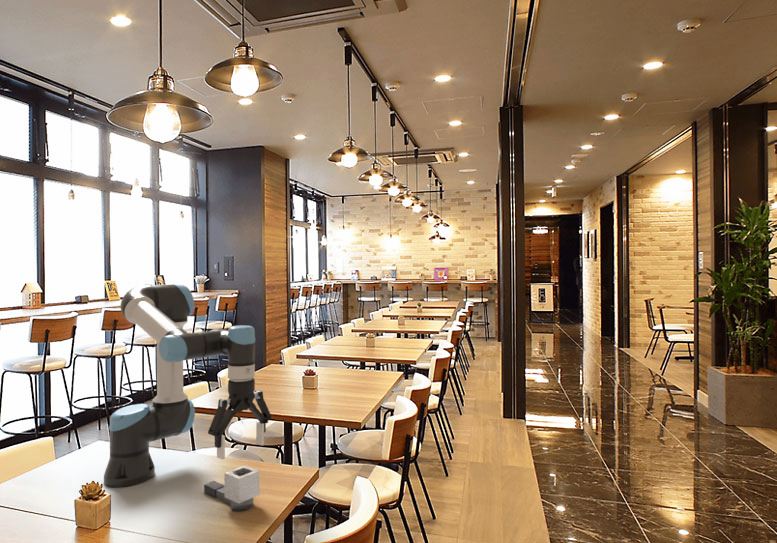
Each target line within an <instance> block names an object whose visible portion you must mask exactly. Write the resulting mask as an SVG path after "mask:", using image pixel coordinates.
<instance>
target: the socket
mask: <svg viewBox="0 0 777 543" xmlns="http://www.w3.org/2000/svg"><path fill="white" fill-rule="evenodd" d="M223 474H224V476H223V477H224V485H225V497H226V498H228V499H230V500H232V501H234V502H236V503H239V504H240V503H242V502H244V501H246V500H249V499H251V498H253V499H254V498H255V497H257V496H260V470H259V469H256V468H253V467H250V466H247V465H242V466H239V467H237V468H233V469H232V470H229V471H226V472H224V473H223ZM242 475H243V476H242Z"/></svg>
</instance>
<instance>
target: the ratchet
mask: <svg viewBox="0 0 777 543" xmlns="http://www.w3.org/2000/svg"><path fill="white" fill-rule="evenodd" d="M242 476H243V475H242ZM203 493H204V494H206V495H208V496H210V497H212V498H214V499H218V500H220V501H221V502H224V503H225V504H229V505H230V510H231V511H234V512H246V511H248V510H251V509H252V508H253V507H254V497H253V498H251V499H249V500H246V501H244V502H242V503H240V504H239V503H236V502H234V501H232V500H230V499H228V498H226V497H225V484H222V483H221V482H218V481H216V480H212V481H210V482H206V483H204V485H203Z"/></svg>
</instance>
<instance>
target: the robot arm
mask: <svg viewBox="0 0 777 543" xmlns="http://www.w3.org/2000/svg"><path fill="white" fill-rule="evenodd" d="M194 310H195V300H194V296H193V293H192V291H191V290H190V288H188V286H185V285H184V284H155V285H154V284H150V285H149V284H145V285H144V284H143V285H138V286H136V287H133V288H131V289H130V290H128V291H126V293H125V294H124V296H123V297H122V299H121V302H120V312H121V314H122V316H123V317H124V318H125V320H127V321H128V322H129V323H131V324H133V325H137V326H138V327H139V328H141V329H142V330H143V331H144V332H145V333H146V334H147V335H148V336H150V338H152V339H153V340H154V341H155V342H156V396H155V397H154V398H152V406H149V405H148V404H147V403H136V404H131V405H126V406H124V407H121V408H118V409H116V410H115V411H114V412H113V413H112V414H111V415H110V418H109V427H108V430H109V458H108V459H109V460H108V462H107V466H106V468H105V471H104V475H103V484H104V485H105V486H108V487H112V488H122V487H129V486H130V487H131V486H135V485H138V484H142V483H144V482H146V481H148V480H150V479H151V478H153V477H154V476H155V474H156V473H155V472H156V471H155V470H156V469H155V468H156V467H155V464H154V461H153V459H152V456H151V454H150V443H151V442H156V441H159V440H163V439H166V438H170V437H177V436H179V435H181V434H185V433H187V432H189V431H190V429H191V428H192V427H193V425H194V421H195V417H196V413H195V412H196V411H195V409H196V408H195V407H194V405H195V404H194V403H193V401H192V400H191V399H189V396H188V394H186V393H185V392H184V361H189V360H194V359H202V358H210V357H215V356H216V357H217V356H226V357H227V359H228V360H227V361H228V363H227V378H228V379H229V380H228V381H227V392H228V398H226V399H223V398H219V399H218V403H217V409H216V411H215V414H214V416H213V419H212V421H211V424H210V426H209V429H208V431H207V435H210V436H213V437H214V448H216V458H218V459H220V460H225V459H226V458H225V457H226V435H224V433H225V431H226V429H228V428H227V427H229V424H230V423H231V421H232V420H233V418H234V416H236V415H237V414H238V413H240V412H241V413H242V412H243V411H248V410H249V411H250V412H251V414H253V416H254V417H255V418H256V419H257V420H258V422H257V421H256V422H255V423H256V426H255V427H256V428H255V429H256V430H255V431H256V433H255V434H256V435H255V436H256V438H255V441H256V443H255V444H257V445H258V446H264V445H265V433H266V430H267V429H266V428H267V427H266V426H267V424H268V423H269V420H271V419H272V414H271V412H270V410H269V407H268V406H267V403H266V401H265V399H264V392H263V391H261V390H257V389H256V385H255V384H256V381H255V378H254V377H256V376H255V375H256V374H255V373H256V371H255V370H256V368H255V367H256V364H255V361H256V360H255V359H256V340H257V339H256V337H255V336H256V334H255V332H256V331H255V328H254V327H253V326H252V325H240V324H239V325H233V326H232V325H231V326H230V327H229V328H228V329H223V328H219V329H218V328H214V329H211V330H210V331H202V332H200V331H199V332H188V331H186V330H185V329H184V326H185V325H186V324H187V323H188V317H190V316H191V315H193V313H194ZM255 389H256V390H255ZM254 400H255V401H256V403H257V405H256V404H255V403H254V402H253V401H254ZM257 406H258V407H257ZM258 408H259V409H258Z"/></svg>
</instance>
